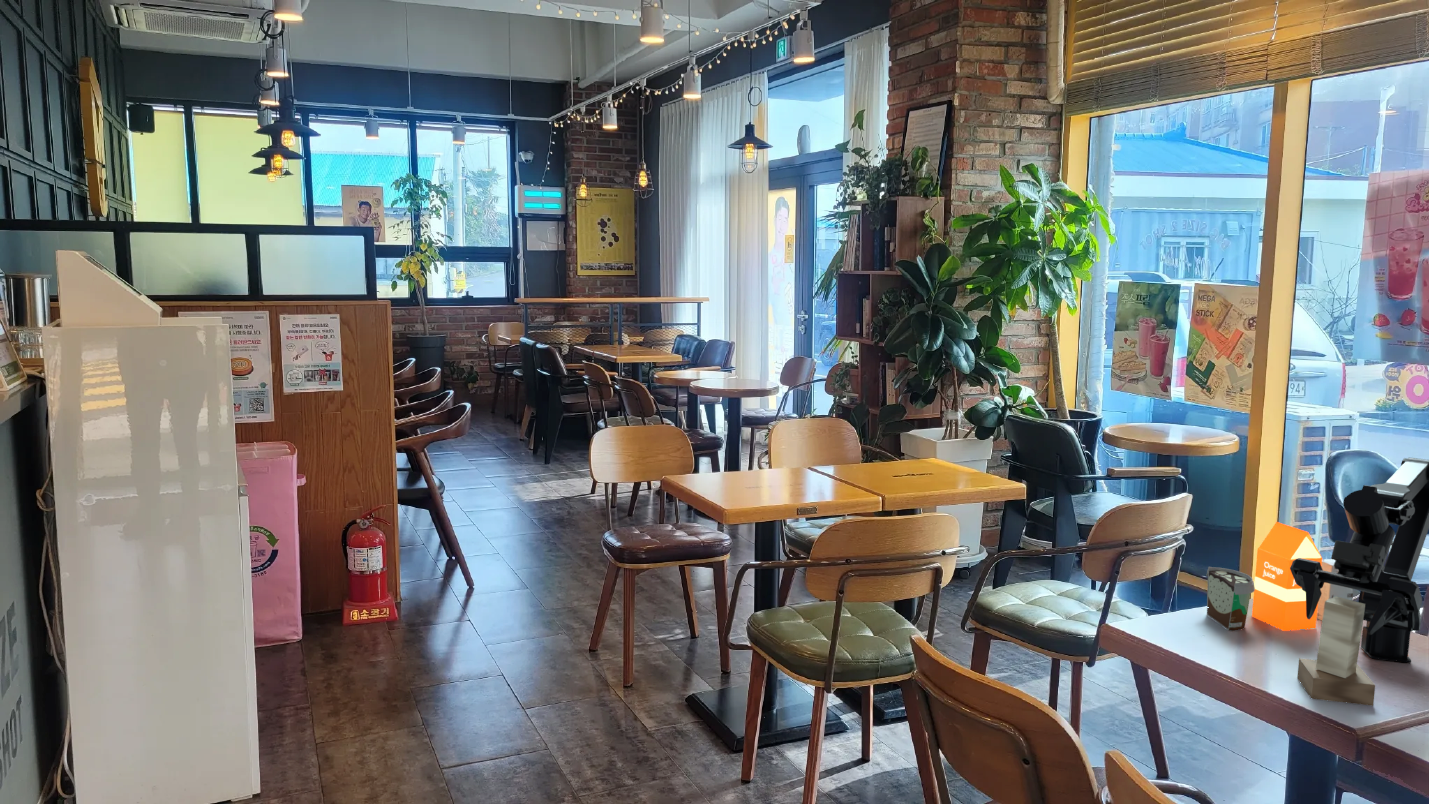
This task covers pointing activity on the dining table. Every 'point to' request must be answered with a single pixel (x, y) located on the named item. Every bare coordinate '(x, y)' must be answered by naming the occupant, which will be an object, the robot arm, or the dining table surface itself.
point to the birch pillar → (1340, 636)
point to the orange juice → (1282, 579)
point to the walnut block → (1335, 684)
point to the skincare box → (1331, 588)
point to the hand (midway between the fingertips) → (1337, 625)
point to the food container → (1228, 597)
